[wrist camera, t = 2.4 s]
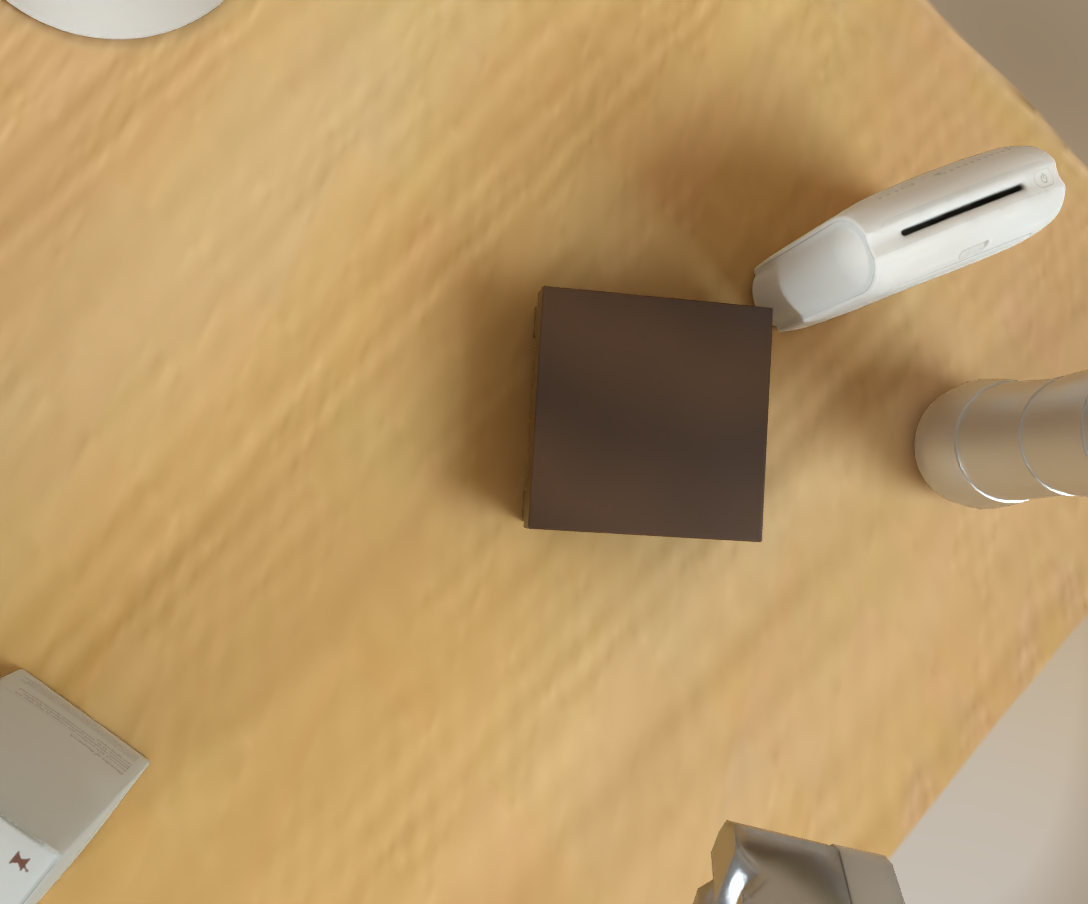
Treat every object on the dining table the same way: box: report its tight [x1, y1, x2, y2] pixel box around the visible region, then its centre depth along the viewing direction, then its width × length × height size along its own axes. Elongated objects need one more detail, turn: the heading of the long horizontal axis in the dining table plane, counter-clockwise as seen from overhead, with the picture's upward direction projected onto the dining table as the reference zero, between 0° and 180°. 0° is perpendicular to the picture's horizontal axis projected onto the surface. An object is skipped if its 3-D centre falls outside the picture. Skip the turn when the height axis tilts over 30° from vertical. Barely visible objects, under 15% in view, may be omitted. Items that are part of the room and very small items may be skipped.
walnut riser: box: [522, 286, 773, 542], centre depth 48 cm, size 11×11×4 cm
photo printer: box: [752, 146, 1066, 332], centre depth 46 cm, size 10×4×12 cm, turn 112°
